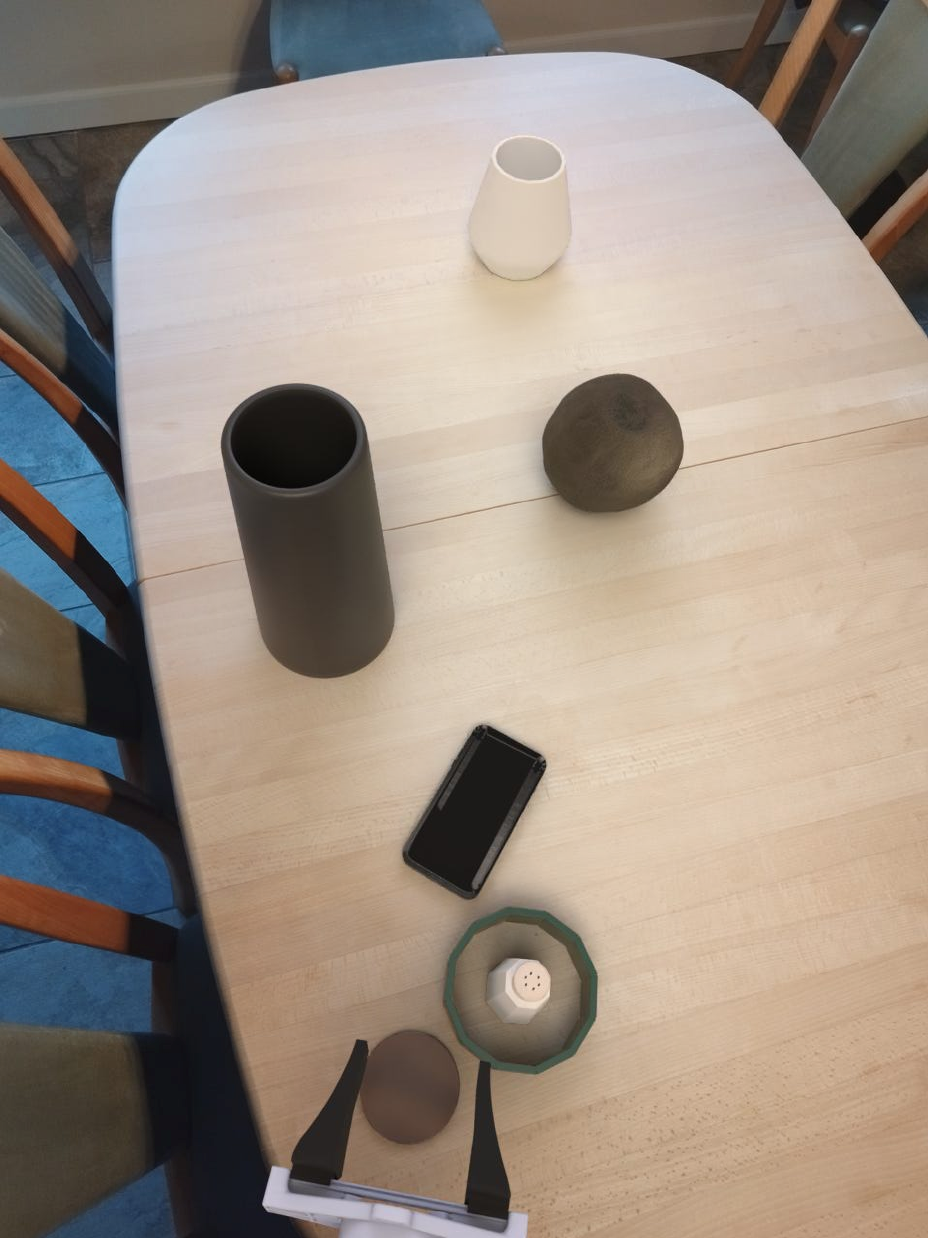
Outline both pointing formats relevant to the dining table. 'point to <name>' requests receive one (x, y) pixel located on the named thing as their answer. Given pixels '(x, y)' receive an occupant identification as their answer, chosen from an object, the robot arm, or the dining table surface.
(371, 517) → the vase
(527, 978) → the salt shaker
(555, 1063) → the green polygonal ring
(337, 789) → the dining table surface
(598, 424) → the dark brown round lump
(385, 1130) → the coaster
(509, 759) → the phone
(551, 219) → the cup
